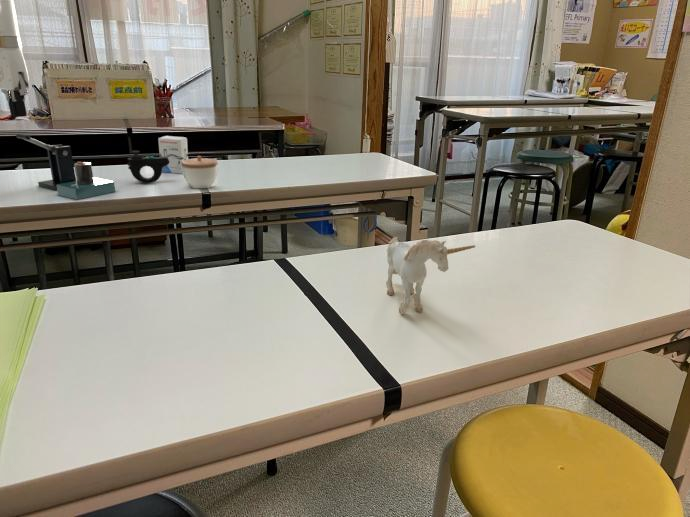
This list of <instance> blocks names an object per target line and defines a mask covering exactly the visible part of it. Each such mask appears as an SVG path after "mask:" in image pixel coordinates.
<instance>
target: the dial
mask: <svg viewBox="0 0 690 517" xmlns="http://www.w3.org/2000/svg"><path fill="white" fill-rule="evenodd" d="M73 165H74V171H75V177H76V180H77V184H81V185H85V184H92V183H94V178H95V177H94V173H93V166H92V162H88V161H87V162H85V161H84V162H82V161H77V162H76V163H73Z"/></svg>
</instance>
